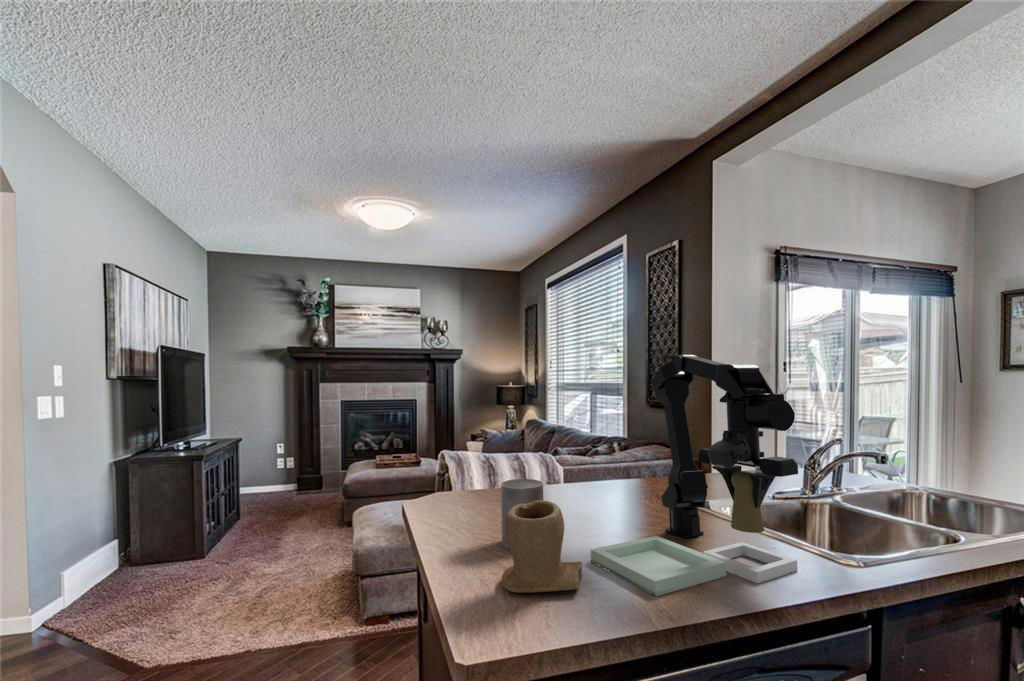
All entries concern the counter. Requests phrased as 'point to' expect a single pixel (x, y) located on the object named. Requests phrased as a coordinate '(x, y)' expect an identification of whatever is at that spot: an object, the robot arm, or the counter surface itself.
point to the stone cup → (538, 550)
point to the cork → (745, 505)
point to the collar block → (773, 569)
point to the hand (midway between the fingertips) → (746, 504)
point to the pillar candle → (518, 497)
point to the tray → (658, 564)
